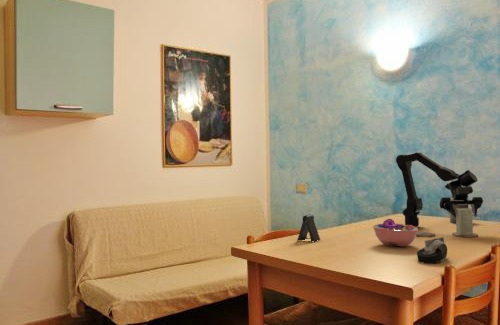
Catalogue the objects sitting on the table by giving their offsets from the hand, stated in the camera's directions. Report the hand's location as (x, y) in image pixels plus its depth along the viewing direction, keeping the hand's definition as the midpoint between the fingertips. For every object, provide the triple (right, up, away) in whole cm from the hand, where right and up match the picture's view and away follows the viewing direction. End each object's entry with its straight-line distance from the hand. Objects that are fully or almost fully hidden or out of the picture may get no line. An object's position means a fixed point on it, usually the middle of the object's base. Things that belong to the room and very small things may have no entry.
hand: (465, 216), depth 204 cm
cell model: (-39, -11, -18) cm, 44 cm away
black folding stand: (-74, -11, -1) cm, 75 cm away
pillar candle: (+16, -9, +40) cm, 44 cm away
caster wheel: (-34, -11, -45) cm, 58 cm away
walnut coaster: (0, -9, +1) cm, 9 cm away
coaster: (-18, -10, +5) cm, 21 cm away
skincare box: (0, -9, +1) cm, 9 cm away
